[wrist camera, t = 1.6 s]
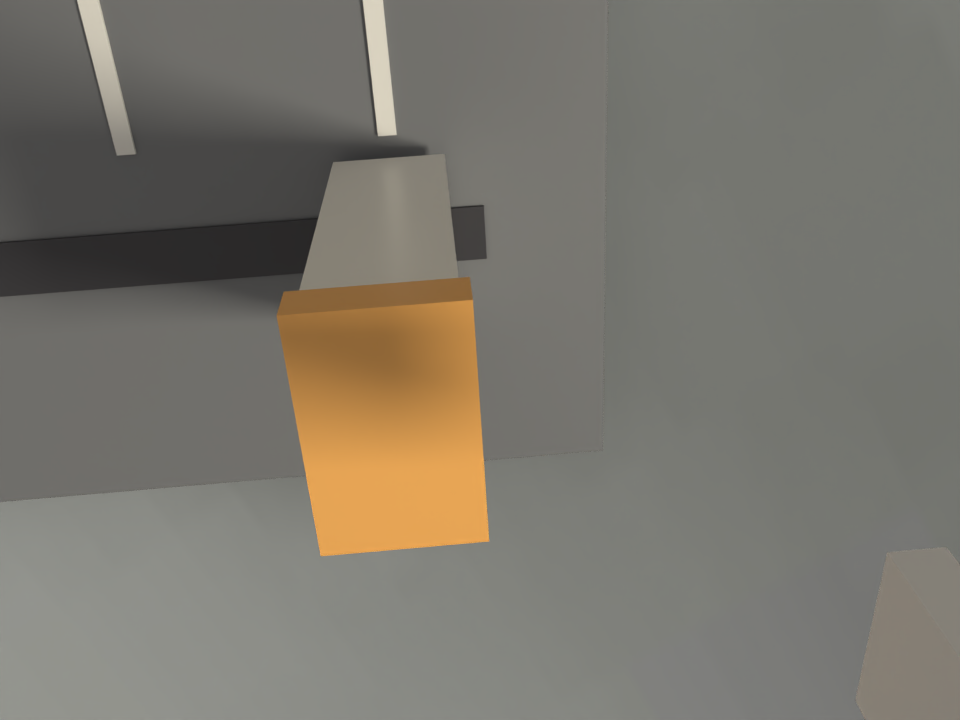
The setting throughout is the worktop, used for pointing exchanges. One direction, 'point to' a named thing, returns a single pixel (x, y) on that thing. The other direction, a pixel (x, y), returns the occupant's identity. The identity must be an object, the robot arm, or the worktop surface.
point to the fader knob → (386, 364)
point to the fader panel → (278, 218)
